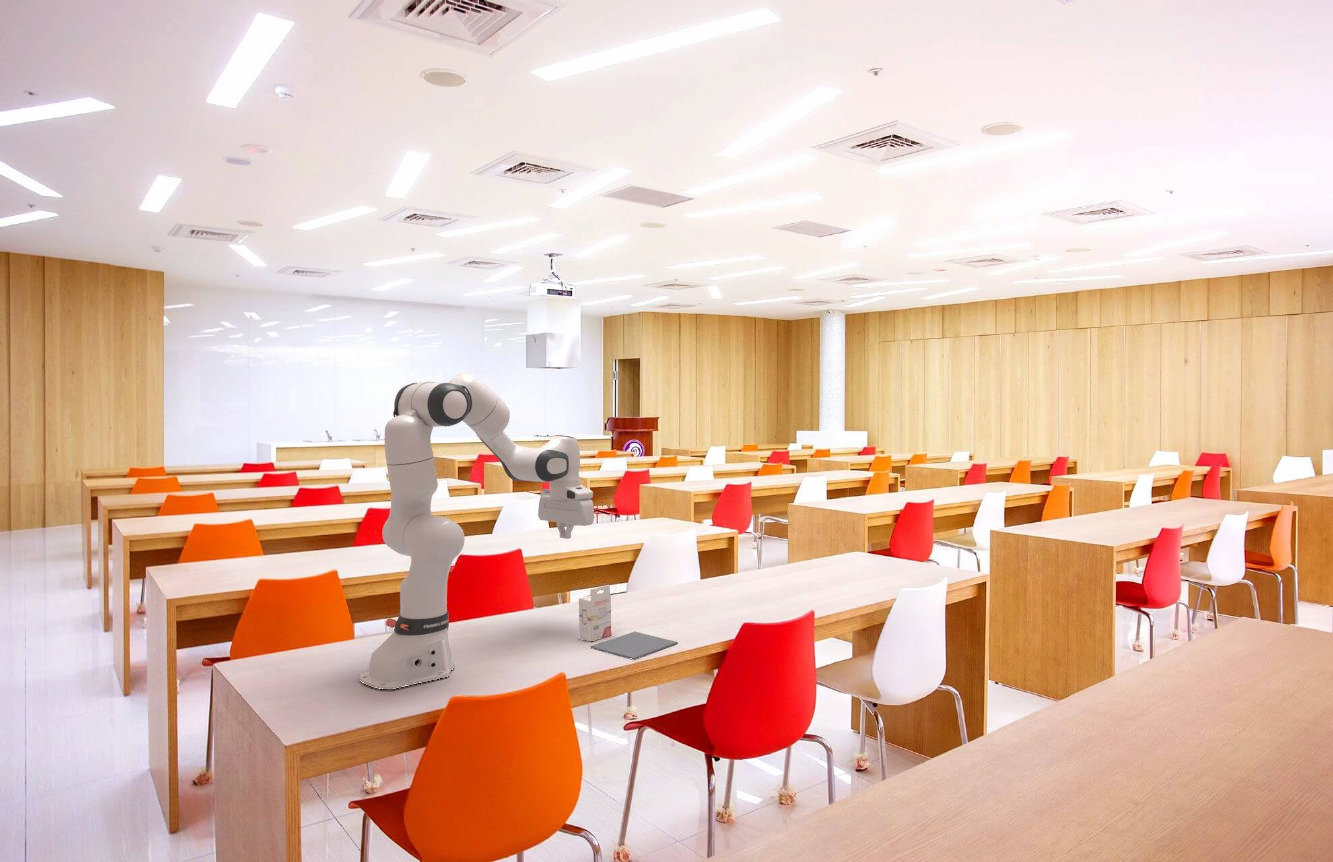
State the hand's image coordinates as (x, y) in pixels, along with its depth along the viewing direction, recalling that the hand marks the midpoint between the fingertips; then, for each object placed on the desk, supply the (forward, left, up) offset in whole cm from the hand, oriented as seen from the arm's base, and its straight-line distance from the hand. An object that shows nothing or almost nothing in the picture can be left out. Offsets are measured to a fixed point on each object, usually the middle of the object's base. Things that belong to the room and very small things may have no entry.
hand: (565, 538), depth 237 cm
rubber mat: (+1, -26, -27) cm, 37 cm away
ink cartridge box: (0, -12, -27) cm, 30 cm away
